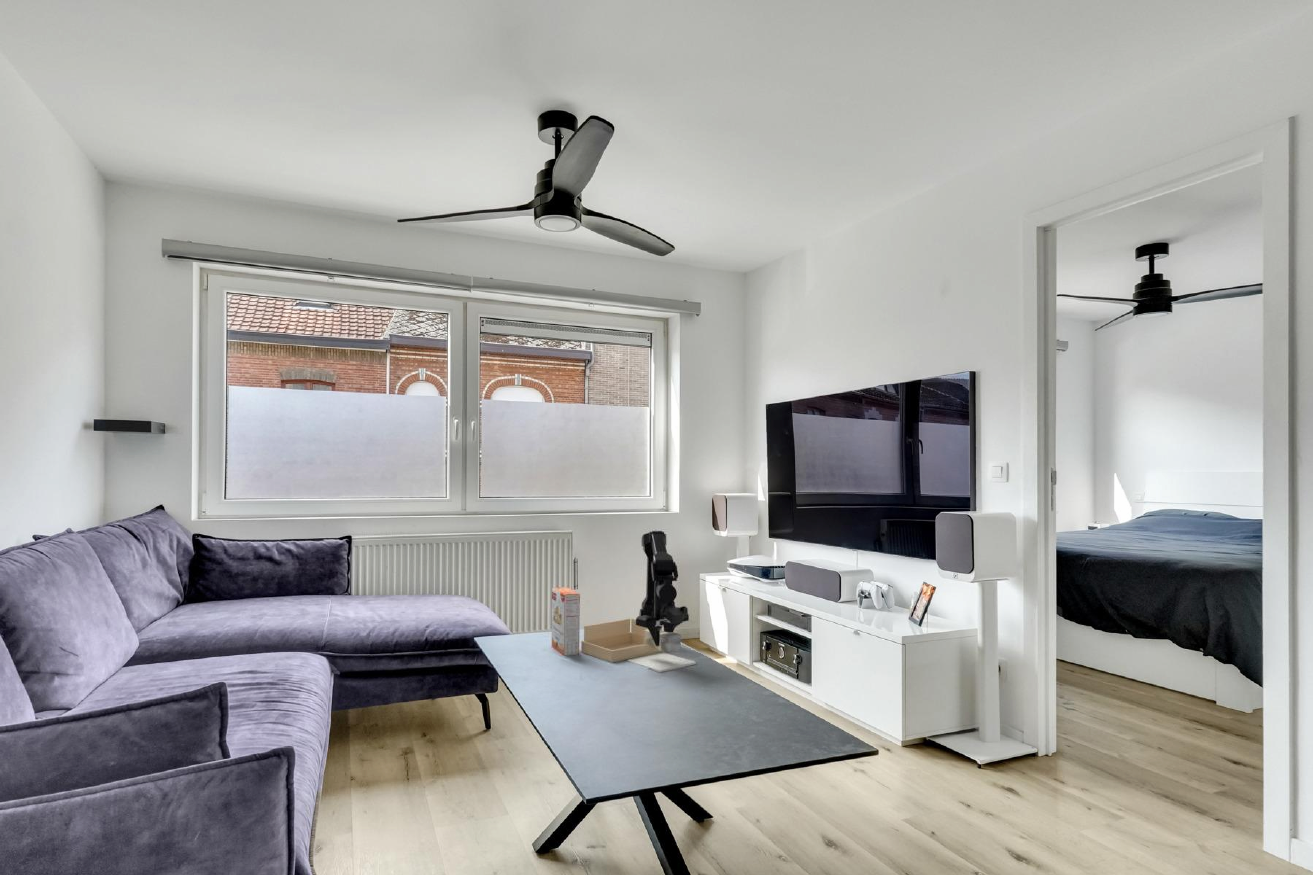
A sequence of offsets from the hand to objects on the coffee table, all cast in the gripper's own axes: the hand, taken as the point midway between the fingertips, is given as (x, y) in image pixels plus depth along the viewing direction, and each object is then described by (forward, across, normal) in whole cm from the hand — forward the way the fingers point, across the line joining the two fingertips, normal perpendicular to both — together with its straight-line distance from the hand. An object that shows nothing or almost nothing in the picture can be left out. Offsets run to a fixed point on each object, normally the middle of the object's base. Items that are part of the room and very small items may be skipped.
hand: (662, 645), depth 246 cm
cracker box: (+6, -16, +32) cm, 37 cm away
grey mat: (+6, 0, 0) cm, 6 cm away
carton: (+6, -2, +18) cm, 19 cm away
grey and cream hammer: (+1, 0, 0) cm, 1 cm away
